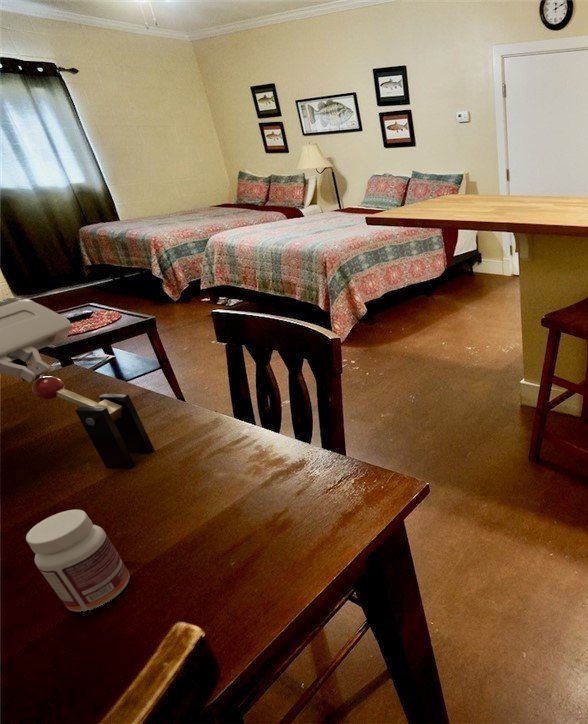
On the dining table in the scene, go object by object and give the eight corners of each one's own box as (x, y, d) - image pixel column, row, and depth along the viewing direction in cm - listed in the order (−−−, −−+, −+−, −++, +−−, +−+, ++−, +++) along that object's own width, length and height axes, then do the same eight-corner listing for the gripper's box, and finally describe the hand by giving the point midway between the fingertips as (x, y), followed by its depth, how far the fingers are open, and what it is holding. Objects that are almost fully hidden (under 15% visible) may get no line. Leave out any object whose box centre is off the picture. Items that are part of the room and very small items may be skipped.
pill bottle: (140, 566, 62) (103, 501, 57) (115, 607, 57) (72, 539, 52) (85, 576, 61) (42, 511, 56) (54, 619, 56) (4, 551, 50)
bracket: (91, 478, 78) (54, 413, 72) (127, 452, 84) (96, 390, 79) (142, 480, 77) (109, 415, 72) (174, 453, 84) (146, 391, 78)
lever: (25, 397, 73) (24, 379, 72) (48, 385, 77) (48, 368, 75) (105, 429, 75) (106, 413, 74) (124, 417, 79) (126, 401, 77)
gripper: (16, 307, 80) (95, 358, 84) (-149, 361, 62) (-38, 423, 66) (26, 281, 78) (107, 335, 82) (-142, 329, 60) (-28, 396, 63)
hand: (41, 375), depth 74 cm, fingers closed, pressing on lever
